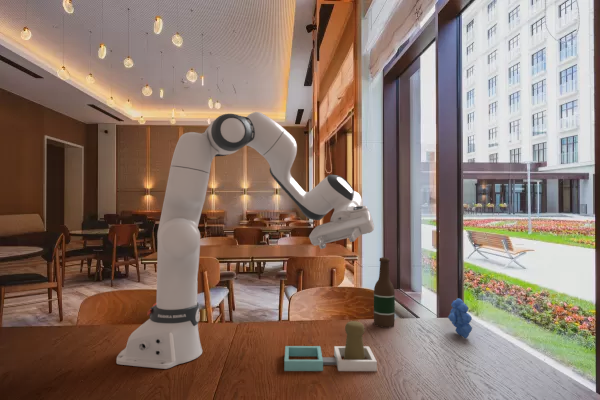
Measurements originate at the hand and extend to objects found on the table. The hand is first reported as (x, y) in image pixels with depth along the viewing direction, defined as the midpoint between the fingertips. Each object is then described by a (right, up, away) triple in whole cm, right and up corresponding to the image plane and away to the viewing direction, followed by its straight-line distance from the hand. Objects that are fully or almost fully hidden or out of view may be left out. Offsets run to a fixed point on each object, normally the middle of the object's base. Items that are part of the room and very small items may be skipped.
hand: (336, 243), depth 105 cm
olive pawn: (+4, -32, -6) cm, 33 cm away
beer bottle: (+20, -33, +26) cm, 46 cm away
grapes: (+42, -33, +16) cm, 56 cm away
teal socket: (-10, -32, -6) cm, 34 cm away
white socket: (+2, -32, -6) cm, 33 cm away
